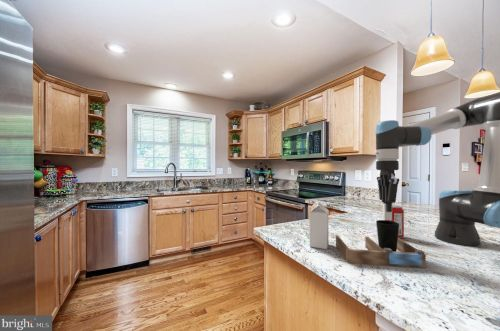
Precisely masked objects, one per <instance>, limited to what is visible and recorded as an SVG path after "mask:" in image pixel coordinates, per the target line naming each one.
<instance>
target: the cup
mask: <svg viewBox="0 0 500 331" xmlns="http://www.w3.org/2000/svg"><path fill="white" fill-rule="evenodd" d="M375 224H376V234H377V240H378V241H377V242H378V245H379V246H380V247H381V248H382V249H383V248H390V249H391V250H392V251H393V252H398V250H397V241H398V232H399V223H397V222H393V221H388V220H384V219H377V220H376V222H375Z"/></svg>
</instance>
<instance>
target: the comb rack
mask: <svg viewBox="0 0 500 331" xmlns="http://www.w3.org/2000/svg"><path fill="white" fill-rule="evenodd" d="M364 241H365V242H364V243H365V245H364V247H365V248H366V249H356V248H354V249H352V248H349V247H348V246H347V244H346V243H345V242H344V241H343V240H342V239H341V237H340V236H339V235H338V234H335V247H336V248H337V250H338V251H339V252H340V255H341V256H342V257H343V259H344V260H345V262H346V263H347V264H355V265H356V264H358V265H359V264H360V265H361V264H362V265H375V266H389V267H402V268H403V267H405V268H406V267H407V268H419V269H420V268H421V269H426V267H427V266H426V264H427V263H426V261H427V260H426V259H427V258H426V256H427V254H425V251H423V250H422V249H418V248H416V247H414V246H412V245H411V244H409V243H408V242H406V241H405V240H403V239H402V238H398V241H397V251H396V252H393V251H392V250H391V249H390V248H383V249H382V248H381V247H380V246H379V244H377V243H376V242H375V241H374V240H373V239H372V238H370V237H369V236H365V240H364Z"/></svg>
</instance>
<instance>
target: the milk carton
mask: <svg viewBox="0 0 500 331" xmlns="http://www.w3.org/2000/svg"><path fill="white" fill-rule="evenodd" d="M329 235H330V234H329V209H328V208H327V207H326V206H325V205H323V204H322V203H321V200H319V201H318V202H317V204H316V203H314V204H313V205H311V210H309V247H310V248H315V249H316V248H317V249H322V250H328V248H329V240H330V238H329Z"/></svg>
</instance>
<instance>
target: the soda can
mask: <svg viewBox="0 0 500 331" xmlns="http://www.w3.org/2000/svg"><path fill="white" fill-rule="evenodd" d="M388 221H393V222H397V223H399V232H398V238H400V239H402V238H405V237H404V236H405V210H404V209H403V206H401V205H398V204H397V205H396V204H392V220H388Z"/></svg>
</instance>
